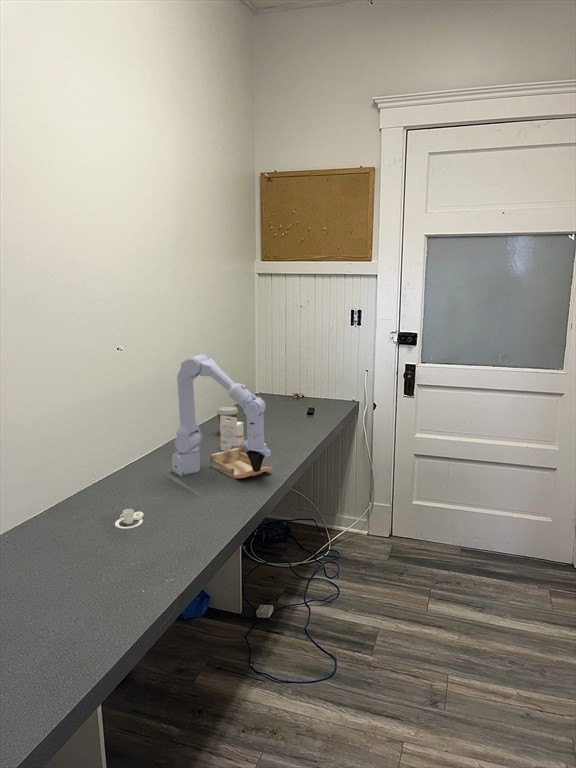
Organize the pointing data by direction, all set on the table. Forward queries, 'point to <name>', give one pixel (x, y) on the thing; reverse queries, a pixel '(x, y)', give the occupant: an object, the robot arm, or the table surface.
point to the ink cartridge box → (231, 433)
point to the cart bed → (231, 462)
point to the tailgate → (253, 472)
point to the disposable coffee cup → (227, 411)
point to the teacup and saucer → (130, 518)
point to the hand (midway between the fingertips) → (256, 470)
